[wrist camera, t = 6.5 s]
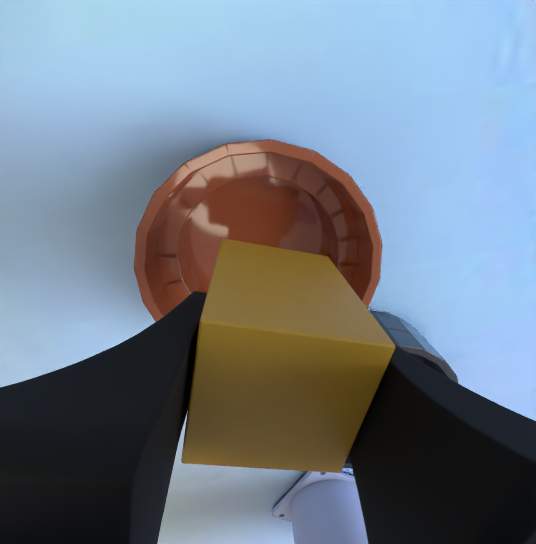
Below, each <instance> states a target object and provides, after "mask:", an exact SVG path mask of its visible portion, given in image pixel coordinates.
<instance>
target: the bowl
mask: <svg viewBox="0 0 536 544" xmlns="http://www.w3.org/2000/svg"><path fill="white" fill-rule="evenodd" d="M223 238H224V239H230V240H236V241H241V242H247V243H253V244H259V245H265V246H270V247H276V248H282V249H288V250H294V251H300V252H305V253H311V254H317V255H323V256H328V257H329V259H330V260H331V261H332V262H333V264H334V265H335V266H336V268H337V269H338V270H339V272H340V273H341V274H342V276H343V277H344V278H345V280H346V281H347V282H348V284H349V285H350V286H351V288H352V289H353V290H354V292H355V293H356V294H357V296H358V297H359V298H360V299H361V301H362V302H363V303H364V305H365V306H366V307H367V309H368V307H369V304H370V302H371V299H372V297H373V295H374V292H375V290H376V287H377V285H378V282H379V279H380V270H381V256H382V240H381V236H380V233H379V229H378V225H377V221H376V218H375V214H374V210H373V208H372V206H371V204H370V203H369V201H368V200H367V199H366V197H365V196H364V194H363V193H362V191H361V190H360V189H359V187H358V186H357V184H356V183H355V181H354V180H353V179H352V177H351V176H349V174H348V173H346V172H345V171H343V170H342V169H341V168H339V167H338V166H336V165H335V164H333V163H332V162H330V161H329V160H328V159H326V158H325V157H323V156H322V155H320V154H319V153H317V152H316V151H314V150H310V149H306V148H303V147H299V146H295V145H291V144H287V143H284V142H280V141H276V140H270V139H269V140H258V141H246V142H235V143H227V144H223V145H221V146H219V147H217V148H214V149H212V150H210V151H208V152H206V153H204V154H201V155H199V156H197V157H195V158H193V159H191V160H188V161H186V162H185V163H183V164H182V165H181V166H180V167H179V168H178V169H177V170H176V171H175V172H174V173H173V174H172V175H171V176H170V177H169V178H168V179H167V180H166V181H165V182H164V183H163V184H162V185H161V186H160V187H159V188H158V189H157V190H156V191H155V192H154V194H153V196H152V198H151V200H150V202H149V204H148V206H147V209H146V211H145V213H144V215H143V217H142V220H141V222H140V224H139V226H138V228H137V232H136V246H135V259H134V271H135V275H136V278H137V282H138V285H139V289H140V292H141V296H142V300H143V303H144V305H145V306H146V308H147V309H148V311H149V312H150V314H151V315H152V317H153V318H154V320H155V321H156V322H157V321H158V320H160V319H161V318H162V317H164V316H165V315H166V314H167V313H169V312H170V311H171V310H173V309H174V308H175V307H176V306H177V305H179V304H180V303H181V302H182V301H183V300H184V299H185V298H187V297H188V296H189V295H190V294H191V293H192V292H194V291H199V292H205V293H207V292H208V288H209V284H210V281H211V277H212V273H213V269H214V266H215V262H216V258H217V254H218V251H219V247H220V243H221V240H222V239H223Z"/></svg>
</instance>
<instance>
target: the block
mask: <svg viewBox="0 0 536 544" xmlns="http://www.w3.org/2000/svg"><path fill="white" fill-rule="evenodd" d="M394 350H395V344H394V343H393V342H392V340H391V339H390V338H389V337H388V335H387V334H386V333H385V331H384V330H383V329H382V327H381V326H380V325H379V323H378V322H377V321H376V319H375V318H374V317H373V315H372V314H371V313H370V311H369V310H368V309H367V307H366V306H365V305H364V303H363V302H362V301H361V299H360V298H359V297H358V296H357V294H356V293H355V292H354V290H353V289H352V288H351V286H350V285H349V284H348V282H347V281H346V280H345V278H344V277H343V276H342V274H341V273H340V272H339V270H338V269H337V268H336V266H335V265H334V264H333V262H332V261H331V260H330V259H329V257H328V256H323V255H317V254H311V253H305V252H300V251H294V250H288V249H282V248H276V247H270V246H265V245H259V244H253V243H247V242H241V241H236V240H230V239H224V238H223V239H222V240H221V243H220V247H219V251H218V254H217V258H216V262H215V266H214V269H213V273H212V277H211V281H210V284H209V288H208V292H207V296H206V299H205V303H204V307H203V311H202V314H201V318H200V323H199V330H198V338H197V345H196V353H195V360H194V368H193V376H192V383H191V391H190V398H189V406H188V413H187V421H186V429H185V436H184V444H183V451H182V459H181V461H182V463H187V464H203V465H219V466H234V467H250V468H266V469H281V470H297V471H313V472H328V473H340V472H341V470H342V468H343V466H344V464H345V461H346V459H347V457H348V454H349V452H350V450H351V448H352V445H353V443H354V441H355V438H356V436H357V434H358V432H359V429H360V427H361V425H362V423H363V420H364V418H365V416H366V413H367V411H368V409H369V407H370V404H371V402H372V400H373V398H374V395H375V393H376V391H377V388H378V386H379V384H380V382H381V379H382V377H383V375H384V372H385V370H386V368H387V366H388V363H389V361H390V359H391V357H392V354H393V352H394Z"/></svg>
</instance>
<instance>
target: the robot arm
mask: <svg viewBox="0 0 536 544" xmlns="http://www.w3.org/2000/svg"><path fill="white" fill-rule="evenodd" d="M206 296H207V293H205V292H199V291H194V292H192V293H191V294H190V295H189V296H188V297H187V298H185V299H184V300H183V301H182V302H181V303H180V304H179V305H177V306H176V307H175V308H174V309H173V310H171V311H170V312H169V313H167V314H166V315H165V316H164V317H162V318H161V319H160V320H158V321H157V322H155V323H154V324H152V325H151V326H149V327H148V328H146V329H145V330H143V331H142V332H140V333H139V334H137V335H135V336H133V337H132V338H130V339H128V340H126V341H124V342H122V343H120V344H118V345H116V346H114V347H112V348H110V349H108V350H105V351H103V352H101V353H99V354H96V355H94V356H92V357H90V358H87V359H85V360H83V361H80V362H78V363H75V364H72V365H70V366H67V367H64V368H62V369H59V370H56V371H53V372H50V373H47V374H44V375H41V376H38V377H35V378H32V379H29V380H26V381H23V382H19V383H16V384H12V385H8V386H5V387H1V388H0V544H157V541H158V536H159V531H160V526H161V521H162V517H163V512H164V507H165V502H166V498H167V493H168V488H169V483H170V479H171V474H172V469H173V465H174V460H175V455H176V451H177V446H178V442H179V438H180V434H181V431H182V427H183V424H184V421H185V417H186V414H187V411H188V406H189V398H190V391H191V383H192V376H193V368H194V360H195V353H196V345H197V338H198V330H199V323H200V318H201V314H202V311H203V307H204V303H205V299H206ZM394 344H395V343H394ZM349 456H350V461H351V465H352V469H353V473H354V476H351V475H349V474H346V473H343V472H340V473H328V472H313V471H308V472H307V473H306V474H305V475H304V476H303V477H302V478H301V480H300V481H299V482H298V483H297V484H296V485H295V486H294V487H293V488H292V489H291V490H290V491H289V492H288V493H287V494H286V496H285V497H284V498H283V499H282V500H281V501H280V502H279V503H278V504H277V505H276V506H275V507H274V508H273V510H272V515H273V516H274V517H277V518H280V519H284V520H287V521H291V522H292V527H293V535H294V543H295V544H536V421H534V420H532V419H529V418H527V417H525V416H522V415H520V414H518V413H516V412H514V411H511V410H509V409H507V408H505V407H503V406H501V405H499V404H497V403H495V402H492V401H490V400H488V399H486V398H484V397H482V396H480V395H478V394H476V393H474V392H473V391H471V390H469V389H467V388H465V387H463V386H461V385H459V384H458V383H456V382H454V381H452V380H451V379H449V378H447V377H445V376H444V375H442V374H440V373H439V372H437V371H435V370H434V369H432V368H430V367H429V366H427V365H426V364H424V363H423V362H421V361H420V360H418V359H417V358H415V357H413V356H412V355H410V354H409V353H407V352H406V351H405V350H403V349H402V348H400V347H399V346H397V345H396V344H395V350H394V352H393V354H392V357H391V359H390V361H389V363H388V366H387V368H386V370H385V372H384V375H383V377H382V379H381V382H380V384H379V386H378V388H377V391H376V393H375V395H374V398H373V400H372V402H371V404H370V407H369V409H368V411H367V413H366V416H365V418H364V420H363V423H362V425H361V427H360V429H359V432H358V434H357V436H356V438H355V441H354V443H353V445H352V448H351V450H350V452H349Z"/></svg>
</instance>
